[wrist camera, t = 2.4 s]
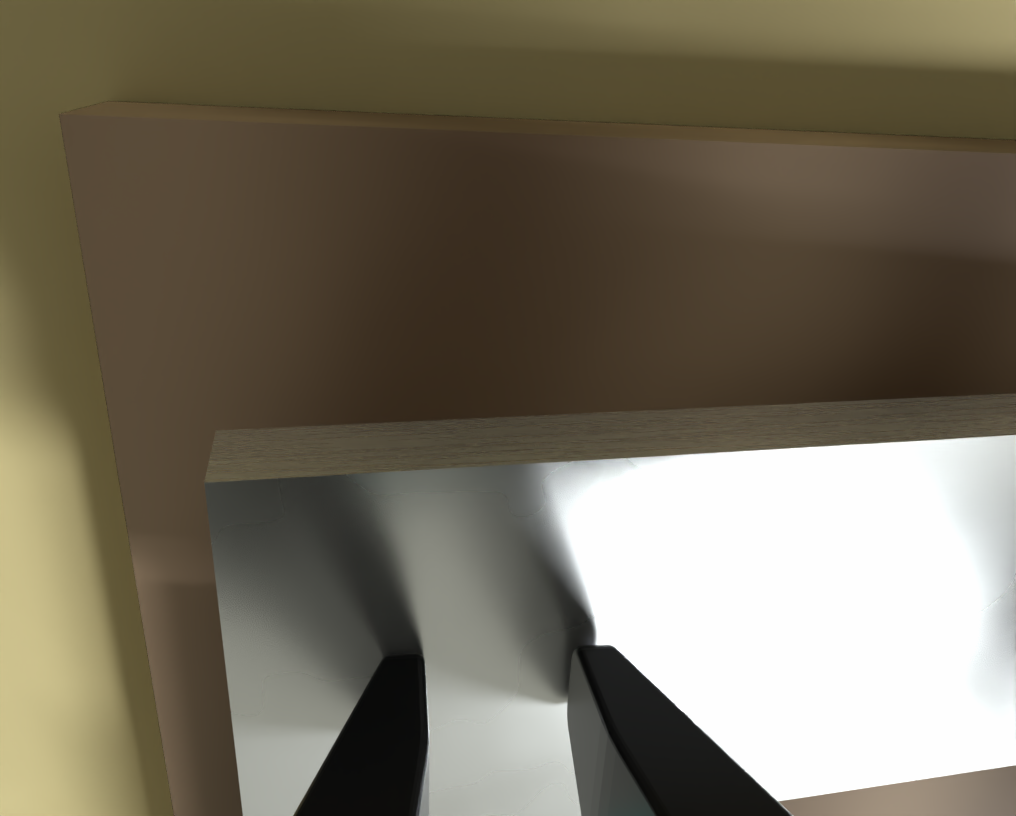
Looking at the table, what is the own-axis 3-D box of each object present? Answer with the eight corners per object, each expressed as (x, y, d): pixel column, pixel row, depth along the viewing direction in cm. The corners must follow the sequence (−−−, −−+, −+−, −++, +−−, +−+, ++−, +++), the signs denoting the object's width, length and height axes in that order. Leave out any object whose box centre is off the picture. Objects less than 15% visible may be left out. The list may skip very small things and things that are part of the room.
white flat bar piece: (1492, 368, 12) (1611, 403, 11) (1328, 656, 14) (1413, 710, 13) (216, 425, 8) (203, 489, 7) (256, 798, 10) (250, 889, 9)
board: (1536, 162, 12) (1913, 213, 9) (1125, 928, 19) (1257, 1105, 16) (107, 101, 11) (-34, 137, 8) (228, 962, 18) (181, 1167, 15)
